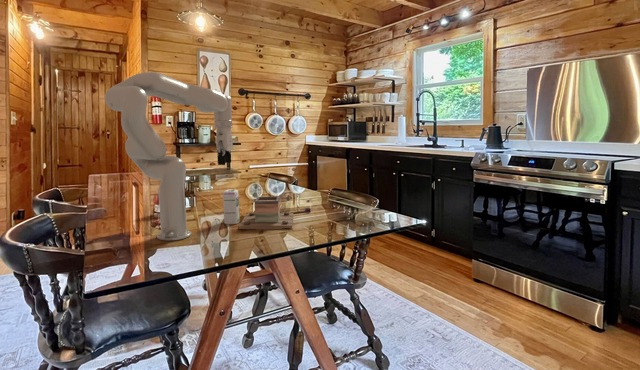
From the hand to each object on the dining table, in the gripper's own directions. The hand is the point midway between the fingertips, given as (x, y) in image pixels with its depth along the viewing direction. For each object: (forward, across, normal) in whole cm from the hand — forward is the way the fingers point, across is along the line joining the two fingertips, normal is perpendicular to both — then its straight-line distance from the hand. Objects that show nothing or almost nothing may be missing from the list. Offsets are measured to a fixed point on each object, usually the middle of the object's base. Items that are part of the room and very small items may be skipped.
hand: (224, 163), depth 175 cm
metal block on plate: (+26, -3, -19) cm, 32 cm away
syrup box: (+26, -3, -3) cm, 27 cm away
